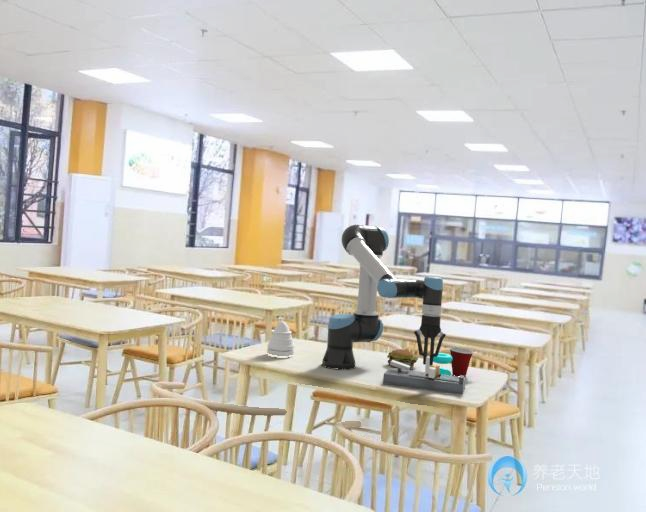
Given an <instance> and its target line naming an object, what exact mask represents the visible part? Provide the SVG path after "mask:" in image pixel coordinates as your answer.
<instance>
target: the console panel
mask: <svg viewBox="0 0 646 512" xmlns="http://www.w3.org/2000/svg"><path fill="white" fill-rule="evenodd" d="M466 382H467V377H466V376H465V377H464V376H463V375H460V377H458V376H454V375H452V374H451V375H443V374H439V377H435V378H428V376H427V373H425V371H418V370H413V369H412V370H410V369H409V371H407V370H404V369H401V368H394V367H389V368H388V369H387V370H386V371H385V372H384V373H383V378H382V384H384V385H385V384H386V385H391V384H392V385H393V386H399V387H405V388H412V389H413V388H415V389H422V390H427V391H428V390H430V391H436V392H441V393H450V394H457V395H463V394H464V391H465V388H466Z"/></svg>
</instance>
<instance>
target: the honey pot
mask: <svg viewBox="0 0 646 512" xmlns="http://www.w3.org/2000/svg"><path fill="white" fill-rule="evenodd" d="M284 320H285V317H278V321H279V322H278V323H277V324H276V326H275V327H274V329H271V331H270V333H271V336H270V337H269V340H268V344H267V350H266V354H267V353H269V354H272V355H277V356H289V355H293V354H294V355H295V343H294V340H293V337H292V333H293V331H292V330H290V327H289V325H288V324H287V323H286V321H284Z"/></svg>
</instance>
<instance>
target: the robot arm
mask: <svg viewBox="0 0 646 512" xmlns="http://www.w3.org/2000/svg"><path fill="white" fill-rule="evenodd" d="M389 241H390V238H389V234H388V232H387V231H386V230H385V229H384V228H383V227H381V226H377V225H364V224H361V225H360V224H352V225H349V226H348V227H346V228H345V229H344V231H343V233H342V235H341V246H342V247H343V249H344V250H345V252H346V253H347V254H348V255H349V256H353V258H354V259H355V260H356V261H357V262H358V263H359V277H358V294H357V295H358V296H357V308H356V310H355V311H354V312H353V314H351V313H339V314H338V313H337V314H333V315H331V316H330V317H329V319H328V325H327V327H328V328H327V343H326V345H327V346H326V350H325V353H324V355H323V358H322V361H321V365H322V364H323V365H324V366H326V367H325V368H327V367H330V368H329V369H331V368H338V369H337V370H341V369H346V370H351V369H350V368H353V369H355V368H356V358H355V354H354V349H353V347H354V343H365V342H366V343H371V342H376V341H378V340H379V339H380V338H381V337H382V334H383V332H384V323H383V321H382V318H381V317H379V312H378V311H377V296H378V295H379V296H380V297H381V298H387V299H399V298H400V299H401V298H405V299H406V298H409V299H412V298H415V299H421V300H422V309H421V313H422V315H421V320H420V321H421V323H420V324H421V325H420V327H419V328H418V329H415V330H414V331H413V334H414V335H415V338H416V341H417V342H416V344H417V348H418V354H419V355H420V356H422V359H423V361H422V364H423V365H425V367H424V368H425V369H424V370H425V371H424V372H425V373H427V374H429V368H430V365H432V364H434V362H433V357H437V356H438V353H440V350H441V346H442V344H443V340H444V338H445V337H446V336H447V333H446V332H445V333H444V332H443V331H442V328H441V318H442V317H441V315H442V304H443V303H442V300H443V289H444V284H443V283H444V281H443V278H442V277H438V276H425V277H424V278H423V280H422V279H416V278H407V279H405V278H403V279H401V278H399V279H398V278H397V277H396V276H394V274H393V272H391V271H390V270H389V269H388V268H387V266H386V265H385V264H384V263H383V262H382V261H381V259H380V258H382V257H383V253H384V252H385V251H386V250H387V249H388V247H389V244H390V243H389ZM377 293H378V295H377ZM421 334H422V336H423V337H424V338H423V339H424V342H423V343H424V344H423V343H422V340H421V339H422V338H421ZM438 335H439V339H438V343H437V346H436V349H435V342H436V338H437V337H438ZM429 339H430V347H429ZM428 348H430V350H429V351H428ZM428 352H429V355H428ZM323 365H322V366H323ZM324 366H323V367H324ZM354 367H355V368H354Z"/></svg>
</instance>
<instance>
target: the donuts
mask: <svg viewBox="0 0 646 512" xmlns="http://www.w3.org/2000/svg"><path fill="white" fill-rule="evenodd" d="M452 360H453V358H452V356H451V354H448V353H446V352H445V353H444V352H443V353H442V352H439V353H438V356H437V357H433V363H434V364H438V365H439V364H440V365H447V364H450V363H451V361H452ZM439 374H443V375H451V376H452V371H450V370H449V369H447V368H445V367H444V368H443V367H440V370H439Z"/></svg>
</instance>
